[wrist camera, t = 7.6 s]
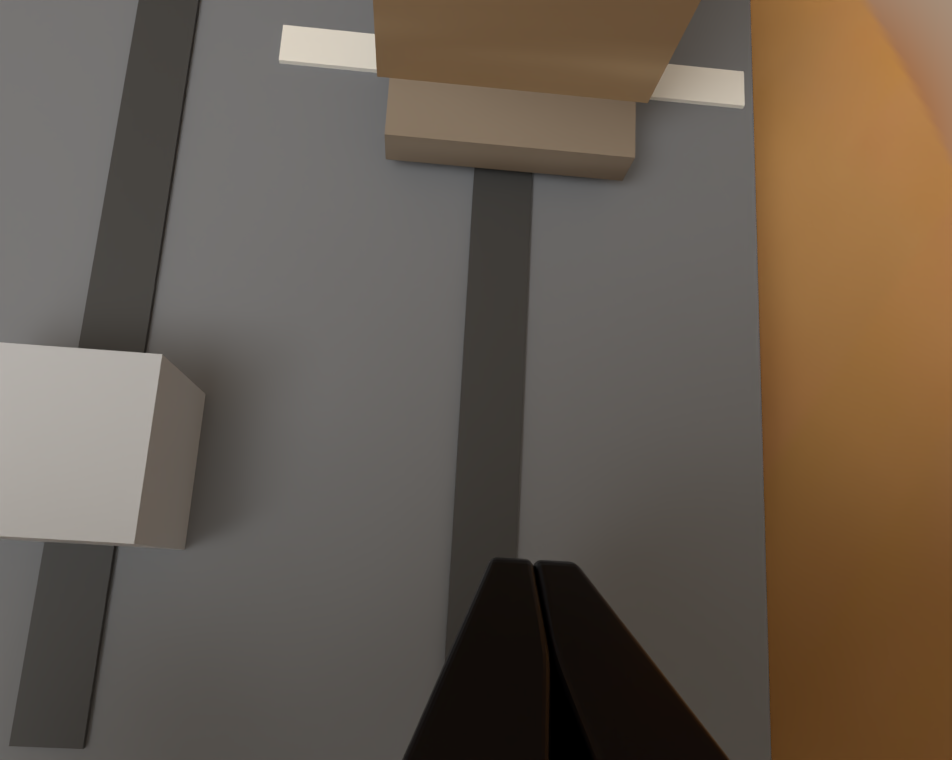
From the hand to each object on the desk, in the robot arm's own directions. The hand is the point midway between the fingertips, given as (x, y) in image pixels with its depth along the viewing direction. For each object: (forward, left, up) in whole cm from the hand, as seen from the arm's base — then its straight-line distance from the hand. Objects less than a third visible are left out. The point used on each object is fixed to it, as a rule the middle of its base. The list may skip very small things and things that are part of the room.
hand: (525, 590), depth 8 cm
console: (+5, -1, -7) cm, 8 cm away
